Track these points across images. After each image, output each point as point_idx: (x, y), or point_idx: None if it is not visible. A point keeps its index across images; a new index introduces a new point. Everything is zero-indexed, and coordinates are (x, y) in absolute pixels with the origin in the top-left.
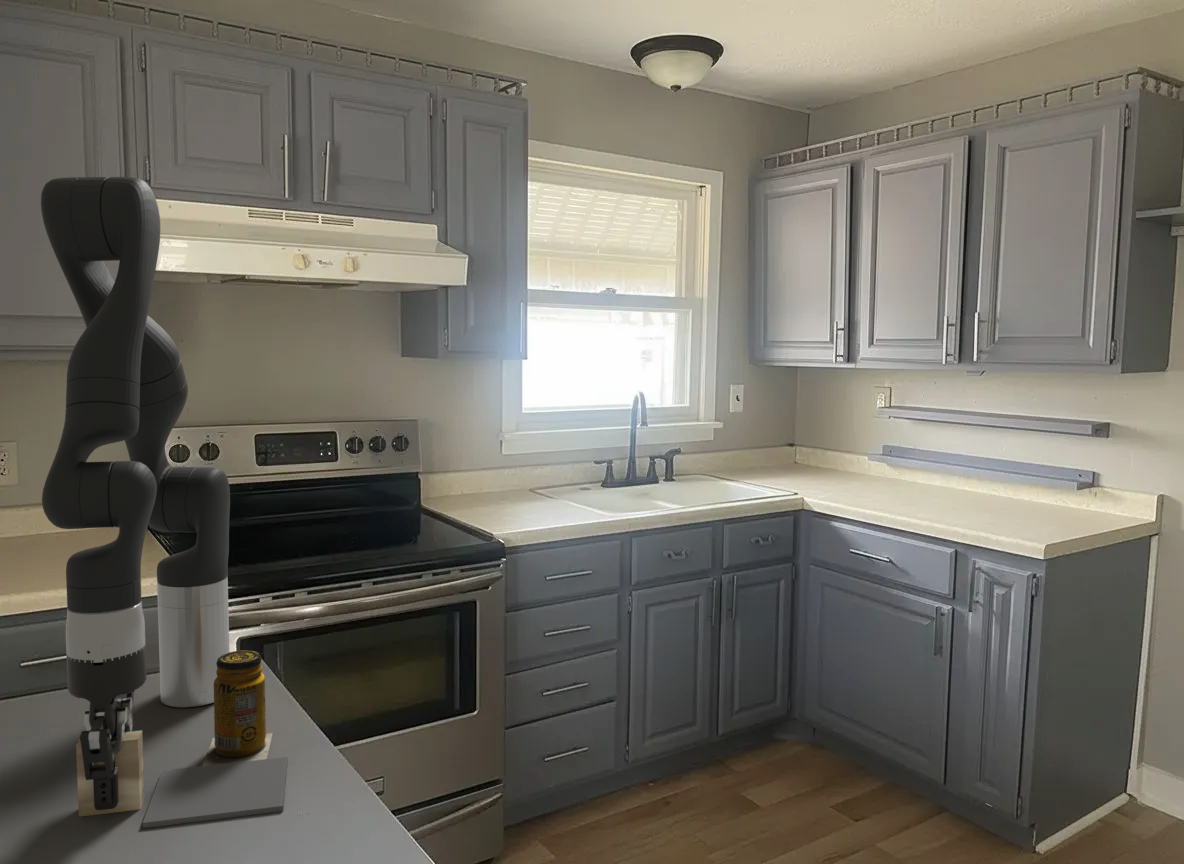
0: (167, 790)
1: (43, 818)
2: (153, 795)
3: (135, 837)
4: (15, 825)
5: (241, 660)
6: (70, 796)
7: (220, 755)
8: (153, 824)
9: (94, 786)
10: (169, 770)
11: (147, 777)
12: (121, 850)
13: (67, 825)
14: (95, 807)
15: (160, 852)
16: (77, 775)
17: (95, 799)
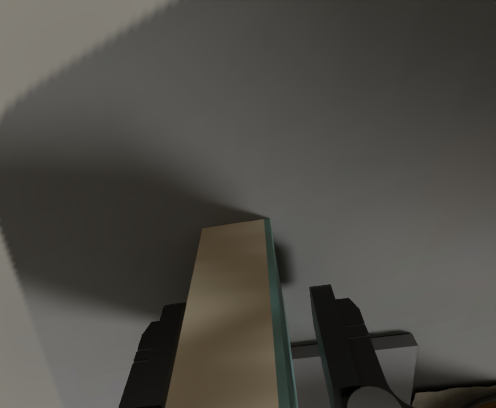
0: (297, 377)
1: (191, 130)
2: None
3: (112, 360)
4: (137, 48)
5: None
6: (342, 152)
7: (471, 404)
8: None
9: (148, 371)
10: (410, 358)
11: (412, 307)
12: (59, 354)
13: (151, 218)
14: (164, 308)
15: (68, 403)
16: (179, 341)
17: (158, 331)
